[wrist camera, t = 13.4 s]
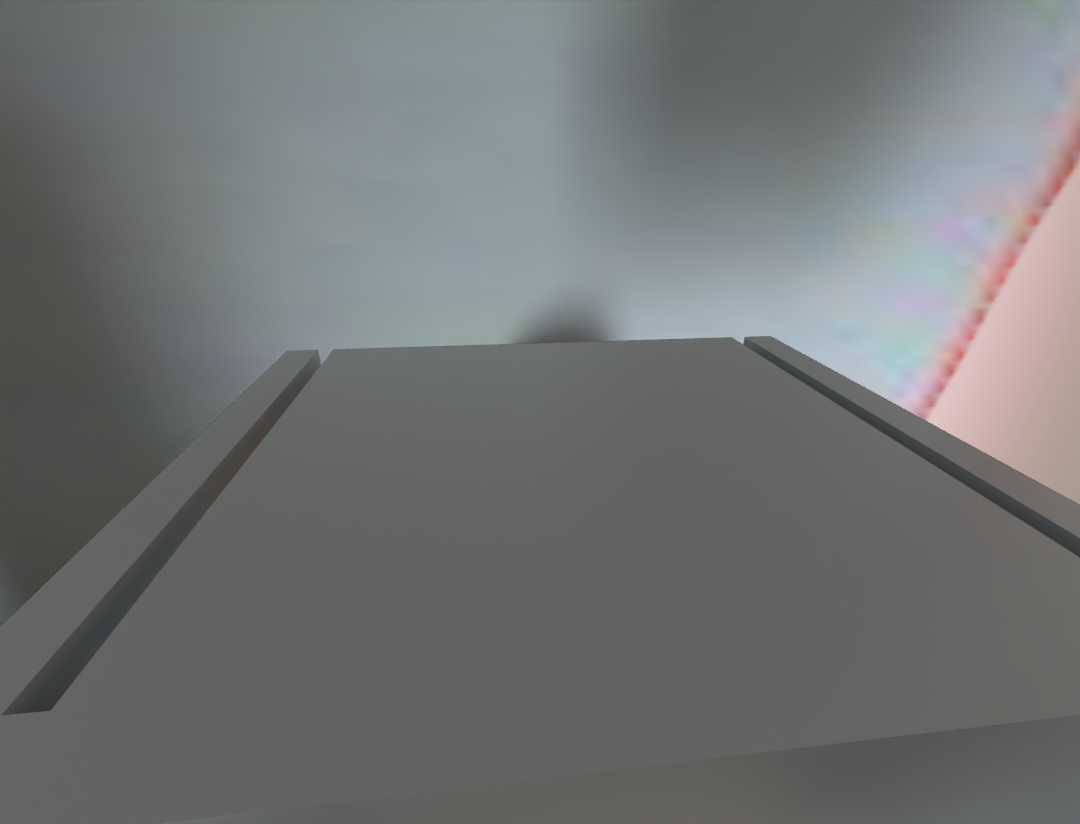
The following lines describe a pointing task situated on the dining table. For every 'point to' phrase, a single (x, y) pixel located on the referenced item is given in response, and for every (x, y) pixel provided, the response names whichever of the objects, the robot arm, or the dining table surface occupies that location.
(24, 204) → the dining table surface
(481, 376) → the grey rectangular prism
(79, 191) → the dining table surface
